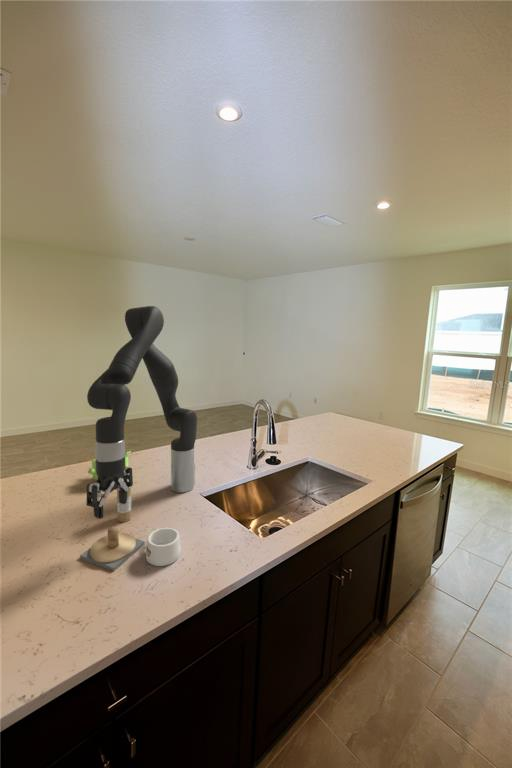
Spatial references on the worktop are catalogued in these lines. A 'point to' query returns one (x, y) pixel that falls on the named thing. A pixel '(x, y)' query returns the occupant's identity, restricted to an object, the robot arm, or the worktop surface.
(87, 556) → the mat
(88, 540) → the worktop surface
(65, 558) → the worktop surface
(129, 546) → the lid
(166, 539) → the mug
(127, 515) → the sprinkles bottle
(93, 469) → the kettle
